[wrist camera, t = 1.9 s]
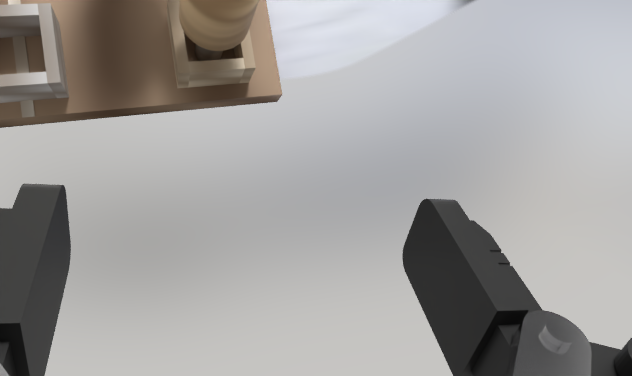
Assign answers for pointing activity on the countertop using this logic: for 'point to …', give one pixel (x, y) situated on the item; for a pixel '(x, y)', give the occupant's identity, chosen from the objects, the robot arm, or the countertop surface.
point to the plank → (121, 62)
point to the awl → (216, 24)
